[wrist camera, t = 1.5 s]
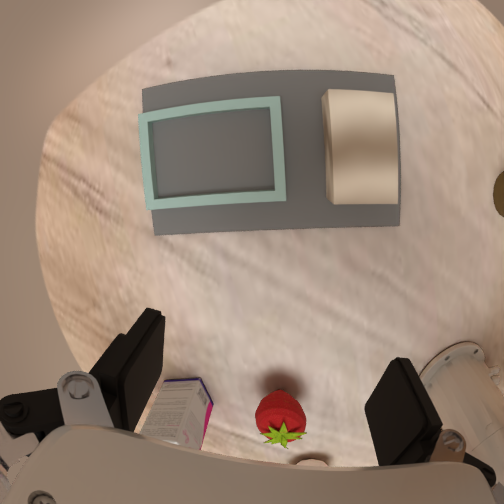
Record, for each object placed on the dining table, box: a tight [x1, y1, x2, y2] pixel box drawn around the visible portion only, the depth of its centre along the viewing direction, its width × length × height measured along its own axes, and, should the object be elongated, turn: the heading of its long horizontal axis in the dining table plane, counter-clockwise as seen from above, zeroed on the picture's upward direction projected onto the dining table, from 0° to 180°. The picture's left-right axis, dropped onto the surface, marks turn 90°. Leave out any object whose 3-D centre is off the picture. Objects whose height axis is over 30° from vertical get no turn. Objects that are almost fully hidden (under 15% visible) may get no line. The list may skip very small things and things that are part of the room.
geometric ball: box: [296, 459, 329, 467], centre depth 39 cm, size 8×8×8 cm
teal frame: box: [138, 96, 286, 210], centre depth 27 cm, size 14×10×1 cm
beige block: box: [321, 89, 398, 204], centre depth 25 cm, size 10×6×4 cm, turn 4°
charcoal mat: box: [142, 70, 401, 236], centre depth 28 cm, size 26×16×1 cm, turn 94°
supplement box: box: [139, 378, 213, 450], centre depth 33 cm, size 6×6×12 cm
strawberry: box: [255, 390, 307, 449], centre depth 32 cm, size 6×8×10 cm
